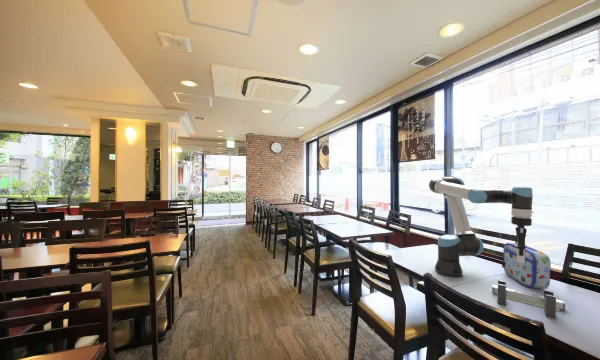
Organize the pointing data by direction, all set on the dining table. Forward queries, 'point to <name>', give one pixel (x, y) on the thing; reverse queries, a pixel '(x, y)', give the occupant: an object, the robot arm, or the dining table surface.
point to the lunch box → (527, 266)
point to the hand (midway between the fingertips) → (520, 258)
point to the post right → (549, 304)
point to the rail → (528, 297)
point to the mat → (528, 302)
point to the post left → (502, 292)
